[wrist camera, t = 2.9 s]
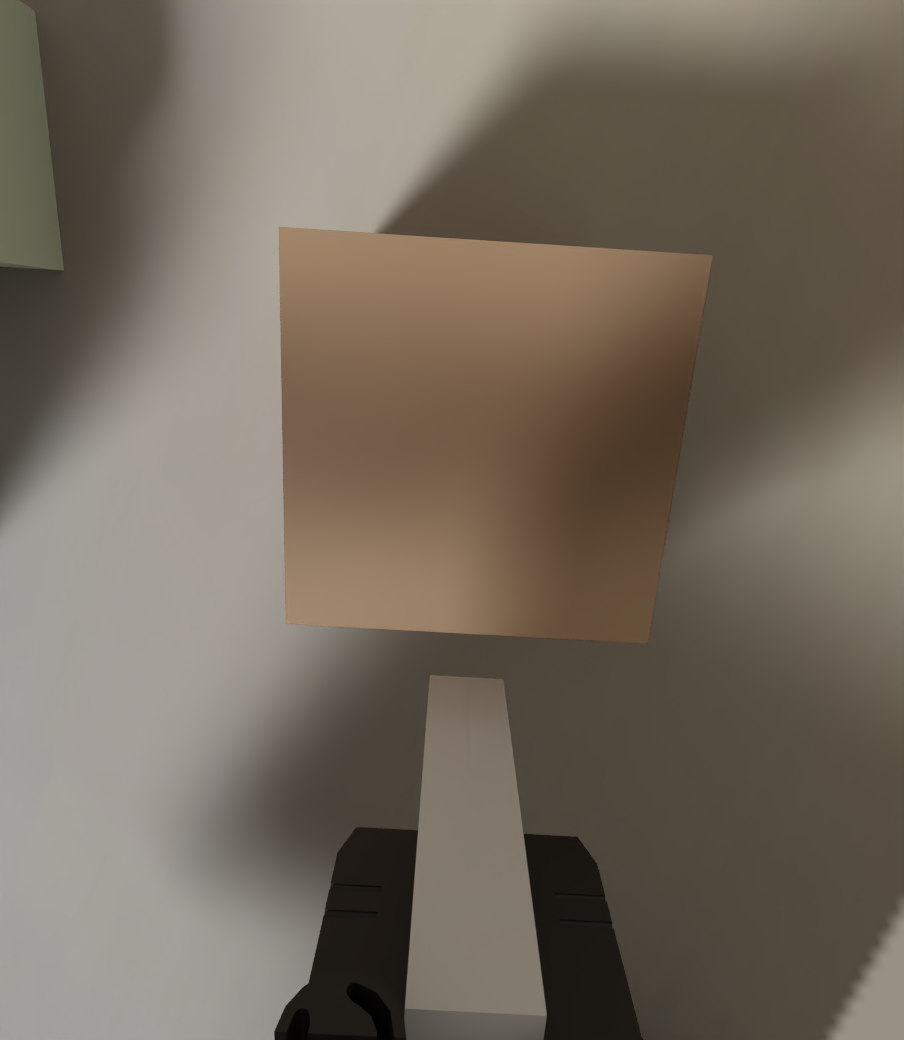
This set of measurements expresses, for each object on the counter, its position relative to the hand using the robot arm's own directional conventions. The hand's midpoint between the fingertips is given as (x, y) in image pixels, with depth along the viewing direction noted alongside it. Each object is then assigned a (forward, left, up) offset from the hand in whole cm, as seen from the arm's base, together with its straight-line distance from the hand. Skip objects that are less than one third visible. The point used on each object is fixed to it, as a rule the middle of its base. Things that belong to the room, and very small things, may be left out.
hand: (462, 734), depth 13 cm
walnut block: (+6, 0, -4) cm, 8 cm away
